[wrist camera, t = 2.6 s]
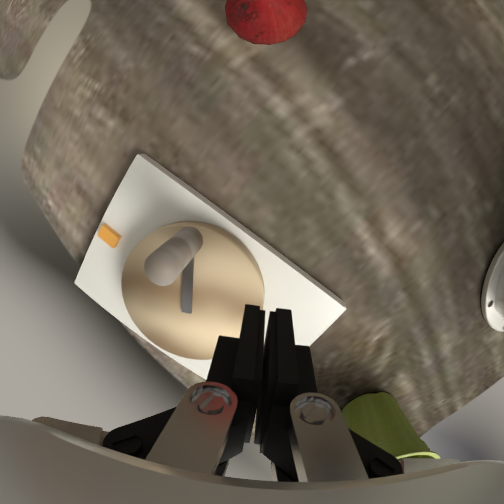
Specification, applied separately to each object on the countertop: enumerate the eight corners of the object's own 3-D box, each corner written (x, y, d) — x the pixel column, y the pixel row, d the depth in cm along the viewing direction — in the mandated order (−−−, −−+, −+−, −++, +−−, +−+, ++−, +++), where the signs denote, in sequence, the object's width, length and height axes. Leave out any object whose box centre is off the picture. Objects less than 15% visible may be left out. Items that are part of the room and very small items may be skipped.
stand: (343, 301, 26) (347, 312, 24) (246, 393, 31) (244, 406, 29) (145, 153, 24) (134, 153, 22) (82, 277, 28) (71, 285, 26)
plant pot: (304, 431, 32) (307, 504, 22) (352, 367, 28) (375, 450, 18) (377, 441, 33) (392, 504, 22) (429, 384, 29) (462, 451, 18)
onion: (259, 69, 21) (250, 31, 13) (219, 25, 19) (196, -21, 12) (316, 37, 19) (330, -9, 12) (275, -6, 18) (272, -58, 10)
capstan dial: (255, 356, 27) (246, 420, 19) (135, 333, 27) (98, 383, 20) (274, 230, 23) (271, 268, 15) (130, 213, 23) (74, 238, 16)
